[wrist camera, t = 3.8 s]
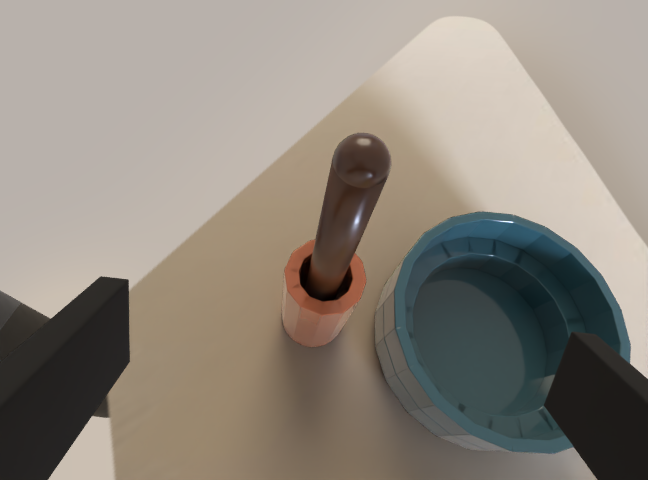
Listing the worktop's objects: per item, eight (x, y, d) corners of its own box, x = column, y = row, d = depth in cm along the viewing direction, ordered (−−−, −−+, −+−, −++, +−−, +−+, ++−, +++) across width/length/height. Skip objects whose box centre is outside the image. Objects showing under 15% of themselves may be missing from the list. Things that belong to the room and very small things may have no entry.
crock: (272, 333, 31) (272, 295, 23) (296, 279, 33) (303, 227, 25) (330, 356, 31) (350, 327, 23) (350, 301, 33) (375, 255, 25)
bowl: (344, 399, 30) (362, 390, 24) (403, 223, 37) (428, 182, 31) (554, 487, 29) (625, 498, 23) (575, 289, 36) (634, 259, 30)
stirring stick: (295, 321, 31) (327, 156, 13) (305, 297, 32) (348, 111, 14) (321, 331, 31) (388, 179, 13) (330, 306, 32) (405, 133, 14)
